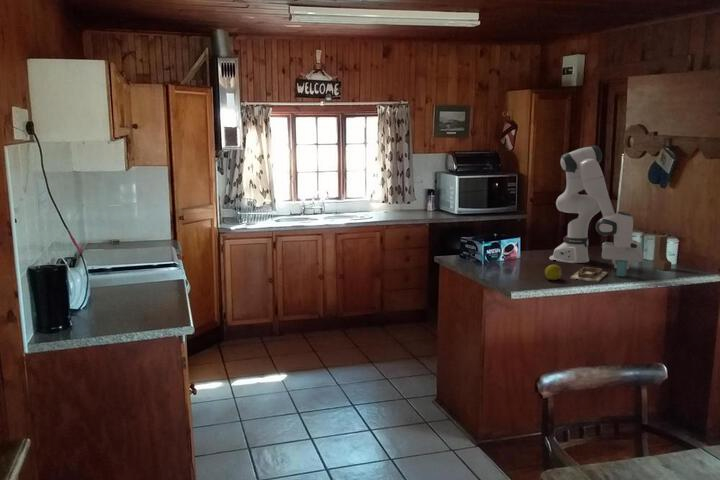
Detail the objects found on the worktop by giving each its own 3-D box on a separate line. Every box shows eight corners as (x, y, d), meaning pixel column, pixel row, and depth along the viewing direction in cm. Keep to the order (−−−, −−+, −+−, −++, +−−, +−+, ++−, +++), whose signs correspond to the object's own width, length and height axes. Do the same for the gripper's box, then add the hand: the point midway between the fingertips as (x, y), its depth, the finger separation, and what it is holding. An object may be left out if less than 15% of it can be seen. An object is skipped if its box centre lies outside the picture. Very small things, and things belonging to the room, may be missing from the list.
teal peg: (616, 275, 331) (617, 260, 330) (617, 274, 334) (618, 259, 333) (624, 276, 329) (625, 261, 328) (625, 275, 332) (626, 260, 331)
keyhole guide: (570, 278, 327) (570, 273, 326) (580, 271, 343) (580, 265, 343) (598, 281, 319) (598, 276, 319) (607, 273, 336) (607, 268, 335)
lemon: (551, 282, 320) (552, 267, 318) (540, 279, 326) (540, 264, 325) (566, 279, 325) (567, 264, 324) (555, 276, 332) (555, 262, 330)
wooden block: (671, 270, 340) (673, 237, 337) (664, 270, 339) (666, 238, 336) (660, 266, 349) (662, 234, 346) (653, 267, 348) (655, 235, 345)
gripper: (600, 242, 332) (599, 267, 334) (642, 245, 320) (640, 271, 323) (603, 240, 337) (602, 265, 339) (644, 243, 326) (643, 269, 328)
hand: (621, 268), depth 331 cm, fingers closed on teal peg, 4 cm apart
